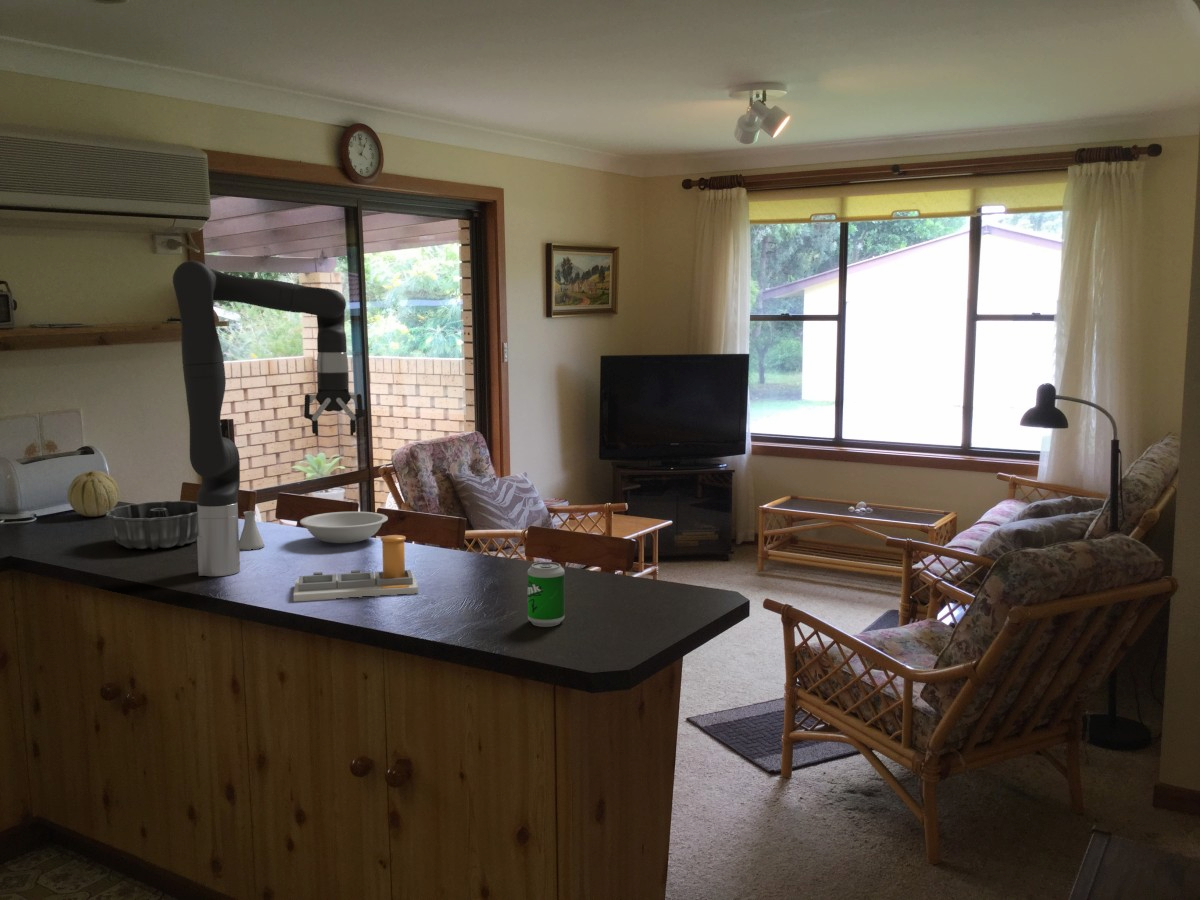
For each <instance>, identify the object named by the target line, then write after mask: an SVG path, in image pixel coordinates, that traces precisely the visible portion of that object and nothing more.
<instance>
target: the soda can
mask: <svg viewBox="0 0 1200 900" xmlns="http://www.w3.org/2000/svg"><path fill="white" fill-rule="evenodd" d="M565 578H566V577H565V568H564V567H563V566H562V565H561V564H560V563H558V562H553V561H540V562H534V563H532V564H531V566H530V567H529V568H528V569H527V619H528V621H530V622H531V624H532V625H533V626H537V627H541V628H542V627H543V628H544V627H545V628H548V627H555V626H558V625H560V624H561V622H562V621H563V620H564V619H565V617H566V615H565V607H566V606H565V603H566V602H565V596H566V595H565V585H566V584H565V583H566V582H565V580H566V579H565Z"/></svg>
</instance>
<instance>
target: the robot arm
mask: <svg viewBox="0 0 1200 900" xmlns="http://www.w3.org/2000/svg"><path fill="white" fill-rule="evenodd" d="M172 284H173V288H174V293H175V297H176V300H177V305H178V311H179V315H180V323H181V336H180V337H181V342H180V344H181V360H182V361H181V362H182V363H181V364H182V371H183V372H182V373H183V380H184V387H185V395H186V402H187V403H186V404H187V405H186V406H187V411H188V420H189V421H188V422H189V461H190V464H191V466H192V469H193V470H194V472H195V473H196V474H197V475H199V476H200V477H201V479H202V480H201V481H202V482H201V485H200V487H199V490H198V492H197V493H196V502H197V514H198V537H197V540H196V543H197V545H196V547H197V564H198V565H197V566H198V567H197V568H198V570H197V571H198V576H199V577H200V576H201V577H202V576H205V577H223V576H224V577H225V576H230V575H234V574H237V573H239V572H241V561H240V560H241V559H240V557H241V556H240V553H241V552H240V549H239V540H240V535H239V534H240V533H239V531H240V529H239V508H238V507H239V506H238V504H239V503H238V494H239V491H240V486H241V479H240V478H241V475H240V474H241V465H240V464H241V463H240V460H241V459H240V454H239V449H238V447H237V445H236V444H235V442H233V441H232V440H231V439H229V438H227V437H225V436H223V431H222V425H221V416H222V415H221V413H222V408H223V403H224V398H225V392H226V379H227V378H226V369H225V359H224V355H223V348H222V345H221V342H220V341H221V340H220V337H219V334H218V331H217V327H216V322H215V315H214V314H215V313H214V311H215V310H214V301H223V302H233V303H240V304H246V305H252V306H257V307H261V308H265V309H271V310H275V311H282V312H283V311H284V312H287V313H288V312H290V313H299V314H300V313H301V314H302V313H303V314H309V315H312V316H313V315H314V316H316V322H317V338H316V339H317V340H316V342H317V343H316V344H317V345H316V346H317V347H316V348H317V359H316V374H317V375H316V379H317V380H316V382H317V383H316V384H317V392H316V394H310V393H306V394H305V395H304V405H303V406H304V408H303V409H304V410H303V412H304V413H303V416H304V418H305V419H308V420H310V421H311V432H312V434H313V435H314V436H315V437H318V436H319V421H318V418H320V416H321V415H322V413H323V412H324V411H326V412H334V411H335V412H341V411H344V412H345V413H346V415H347V416H348V417H349V418H350V419H349V433H350V434H349V435H350V436H354V434H355V433H357V432H356V431H357V420H358V419H362V418H363V417H364V410H363V409H364V407H363V398H362V394H361V393H356V394H355V393H354V394H351V393H350V389H349V386H350V385H349V361H348V349H347V334H346V331H345V330H346V329H345V323H346V322H345V321H346V320H345V319H346V316H345V315H346V314H345V313H346V311H345V310H346V307H347V302H346V299H345V296H344V295H343V294H342V293H341V291H338V290H335V289H332V288H327V287H326V288H324V287H315V286H306V285H302V284H299V283H293V282H287V281H280V280H274V279H266V278H254V277H253V278H252V277H243V276H237V275H233V274H228V273H225V272H221V271H219V270H214V269H213V268H209V266H207V265H206V264H204V263H203V262H201V261H197V260H187V261H184V262H182V263H180V264H179V265H178V266H177V267H176V269H175V270H174V273H173V275H172ZM351 399H352V400H353V402H354V403H355V404H356V407H357V413H353V412H354V411H352V410H351V409H350V407H349V406H348V404H349V402H350V401H351ZM314 400H316V401H317V402H318V404H319V407H318V408H317V410H316V411H315V412H314V413H313V414H311V413H310V407H311V406H310V405H311V404H313V403H314Z"/></svg>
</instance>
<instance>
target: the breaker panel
mask: <svg viewBox="0 0 1200 900" xmlns="http://www.w3.org/2000/svg"><path fill="white" fill-rule="evenodd" d="M298 577H299V578H298V579H295V583H294V589H293V602H304V601H305V602H306V601H307V602H309V601H322V600H323V601H324V600H337V599H336V598H343V599H349V598H348V597H359V598H363V597H362V596H375V597H381V596H380V595H391V596H398V595H397V594H407V595H416V594H415V593H418V594H419V586H418V582H417V580H416V577H415V573H414V572H412V570H411V569H405V578H390V579H383V570H382V571H375V572H374V571H368V572H367V571H366V572H361V569H355V570H350V573H348V572H346V573H337V574H336V573H332V574H331V573H329V574H323V572H322V571H319V572H317V571H316V572H313V574H311V575H300V576H298Z"/></svg>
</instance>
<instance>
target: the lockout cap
mask: <svg viewBox="0 0 1200 900" xmlns="http://www.w3.org/2000/svg"><path fill="white" fill-rule="evenodd" d="M406 538H407V537H406V536H405V535H401V534H400V535H399V534H392V535H391V534H389V535H384V536H382V537H381V536H380V541H381V542H382V543H381V544H382V571H383V579H390V578H405V570H406V560H405V559H406V558H405V555H406V554H405V552H406V551H405V547H406V546H405V541H406Z"/></svg>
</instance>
